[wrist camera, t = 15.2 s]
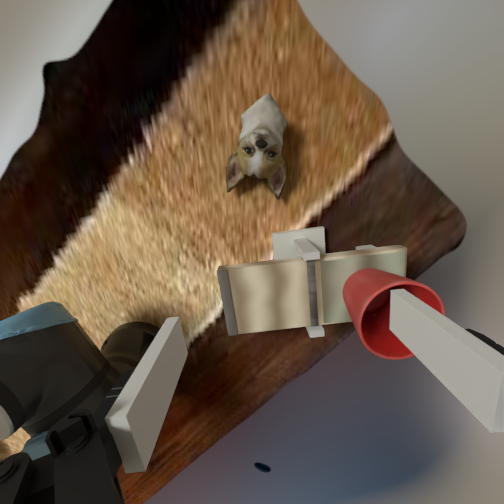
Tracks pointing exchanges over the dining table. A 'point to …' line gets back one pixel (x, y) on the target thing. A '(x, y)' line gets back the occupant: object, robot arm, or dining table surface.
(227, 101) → the dining table surface
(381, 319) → the flower pot
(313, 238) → the stand
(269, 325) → the beam
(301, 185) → the dining table surface
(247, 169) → the ceramic sculpture
